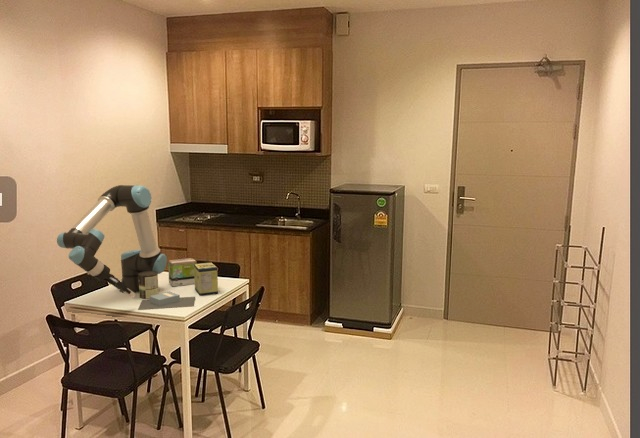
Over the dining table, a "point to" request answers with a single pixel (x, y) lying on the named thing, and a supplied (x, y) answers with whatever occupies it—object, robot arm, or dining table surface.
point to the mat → (182, 303)
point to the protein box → (206, 279)
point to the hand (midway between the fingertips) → (133, 295)
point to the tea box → (181, 272)
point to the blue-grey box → (164, 298)
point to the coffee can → (148, 284)
